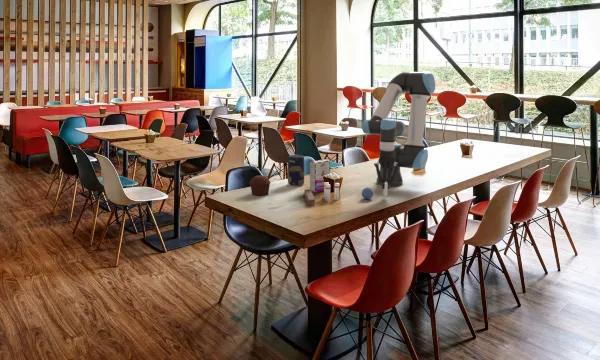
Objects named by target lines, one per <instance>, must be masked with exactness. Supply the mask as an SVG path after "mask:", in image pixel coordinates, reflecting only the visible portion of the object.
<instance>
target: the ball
mask: <svg viewBox="0 0 600 360" xmlns="http://www.w3.org/2000/svg"><path fill="white" fill-rule="evenodd" d="M361 196H362V198H363V199H365V200H370V199H372V198H373V196H374V190H373V189H372V188H371V187H365V188H363V189H362V191H361Z"/></svg>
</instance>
